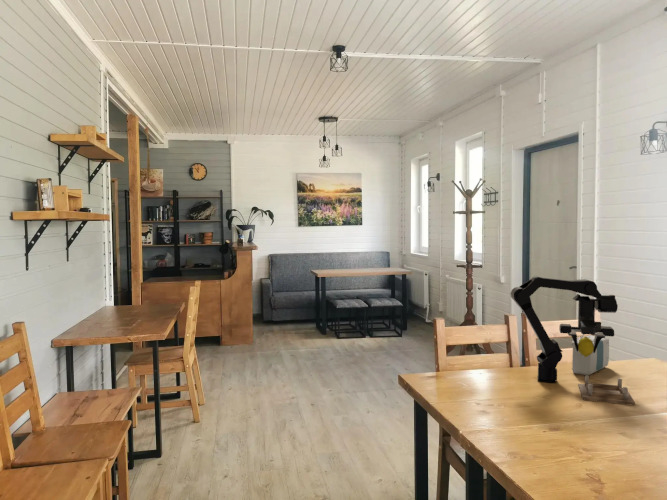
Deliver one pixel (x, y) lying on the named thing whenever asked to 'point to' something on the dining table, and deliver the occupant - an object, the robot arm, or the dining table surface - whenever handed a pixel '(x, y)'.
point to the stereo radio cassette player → (591, 357)
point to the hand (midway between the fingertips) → (585, 351)
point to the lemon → (585, 346)
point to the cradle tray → (605, 392)
